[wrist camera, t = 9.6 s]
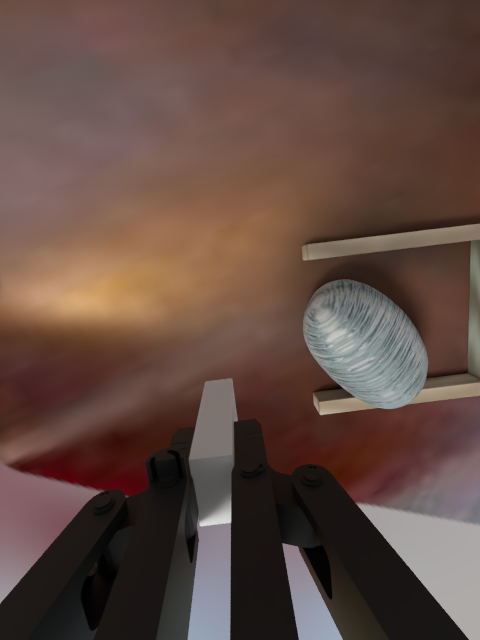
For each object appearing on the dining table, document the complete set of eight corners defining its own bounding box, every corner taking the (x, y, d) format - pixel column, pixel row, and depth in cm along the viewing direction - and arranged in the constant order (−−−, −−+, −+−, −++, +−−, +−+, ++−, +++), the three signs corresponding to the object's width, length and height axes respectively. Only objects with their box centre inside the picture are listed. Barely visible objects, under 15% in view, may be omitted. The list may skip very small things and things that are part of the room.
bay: (301, 246, 31) (307, 244, 29) (485, 223, 31) (506, 220, 29) (313, 404, 35) (320, 414, 32) (480, 383, 35) (498, 393, 32)
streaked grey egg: (450, 359, 31) (464, 408, 22) (366, 394, 36) (353, 445, 27) (369, 253, 32) (354, 261, 23) (300, 302, 37) (267, 323, 28)
